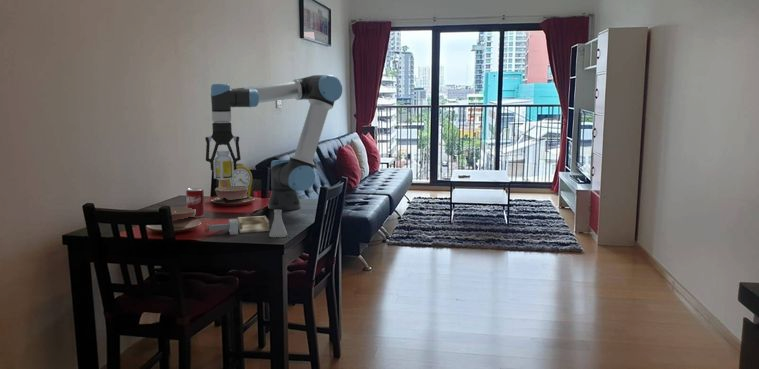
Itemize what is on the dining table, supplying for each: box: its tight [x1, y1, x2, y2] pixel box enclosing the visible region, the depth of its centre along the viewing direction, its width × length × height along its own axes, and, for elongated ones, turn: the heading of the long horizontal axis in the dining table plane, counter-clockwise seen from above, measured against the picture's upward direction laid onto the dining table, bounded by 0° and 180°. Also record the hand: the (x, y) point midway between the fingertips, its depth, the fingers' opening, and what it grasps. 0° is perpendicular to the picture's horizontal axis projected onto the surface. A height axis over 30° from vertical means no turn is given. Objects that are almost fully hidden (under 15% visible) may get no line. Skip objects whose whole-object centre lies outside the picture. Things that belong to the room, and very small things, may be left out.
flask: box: [268, 210, 289, 239], centre depth 213 cm, size 7×7×10 cm
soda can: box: [185, 187, 205, 219], centre depth 245 cm, size 7×7×12 cm
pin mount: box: [228, 218, 239, 236], centre depth 218 cm, size 3×6×5 cm, turn 18°
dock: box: [236, 215, 271, 234], centre depth 225 cm, size 11×12×3 cm
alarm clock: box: [218, 162, 253, 197], centre depth 286 cm, size 15×8×18 cm, turn 137°
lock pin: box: [203, 222, 240, 234], centre depth 216 cm, size 13×4×4 cm, turn 108°
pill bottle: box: [214, 150, 232, 181], centre depth 232 cm, size 6×6×12 cm
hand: (224, 177), depth 232 cm, fingers closed on pill bottle, 6 cm apart
